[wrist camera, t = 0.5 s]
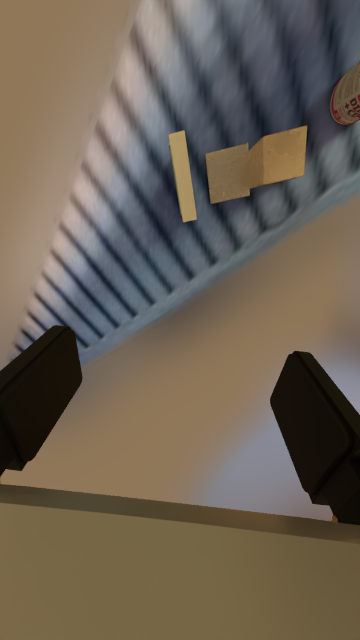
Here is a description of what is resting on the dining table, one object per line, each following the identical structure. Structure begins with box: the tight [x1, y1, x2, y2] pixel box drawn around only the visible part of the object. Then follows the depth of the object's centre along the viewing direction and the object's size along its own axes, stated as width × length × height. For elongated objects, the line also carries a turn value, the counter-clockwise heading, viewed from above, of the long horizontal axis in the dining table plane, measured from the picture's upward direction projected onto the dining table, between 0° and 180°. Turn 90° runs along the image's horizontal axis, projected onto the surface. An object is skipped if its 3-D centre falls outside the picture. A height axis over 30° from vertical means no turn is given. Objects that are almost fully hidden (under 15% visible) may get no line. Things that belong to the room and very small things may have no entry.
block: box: [169, 131, 197, 222], centre depth 26 cm, size 2×8×7 cm, turn 11°
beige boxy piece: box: [205, 126, 307, 204], centre depth 25 cm, size 9×6×7 cm, turn 101°
